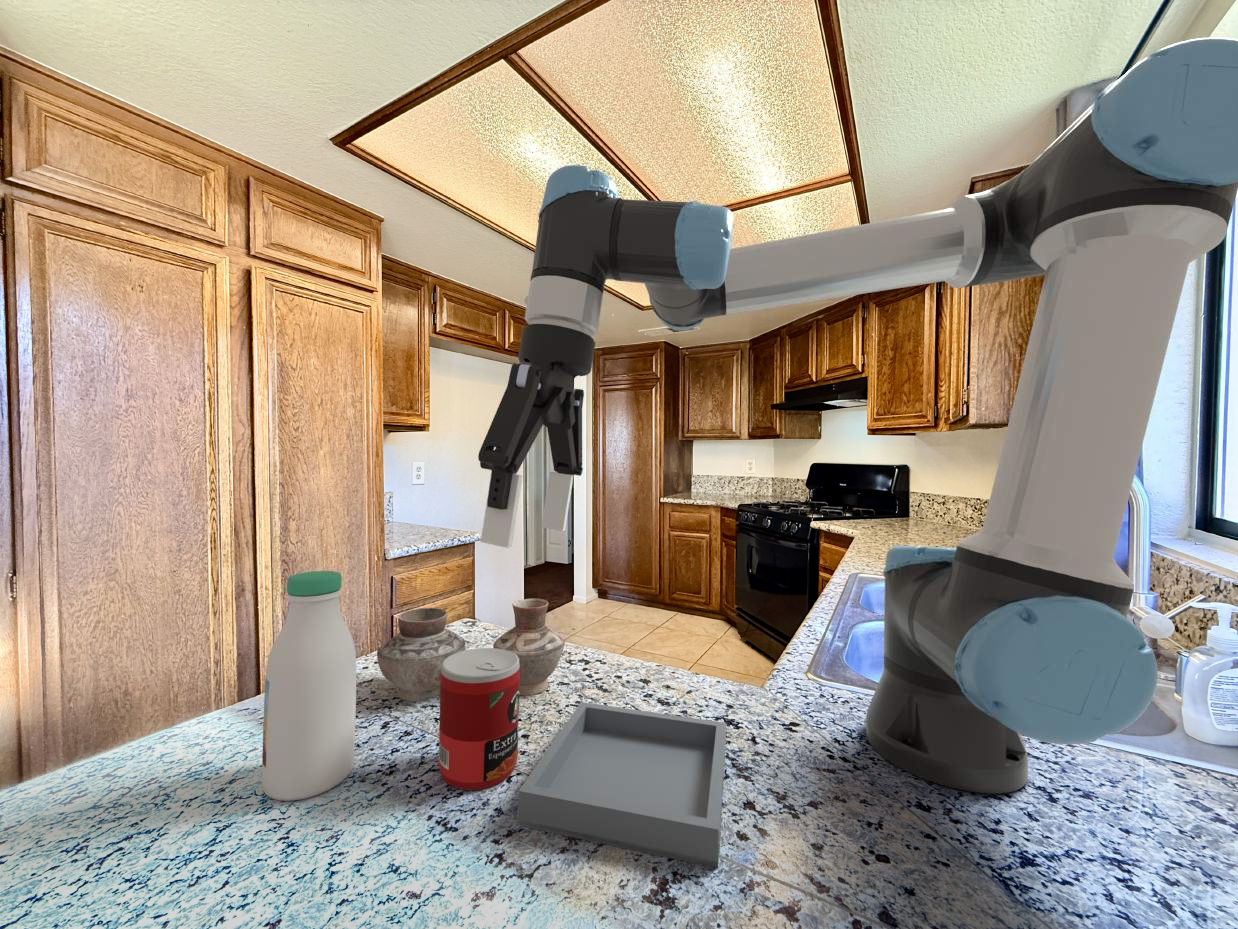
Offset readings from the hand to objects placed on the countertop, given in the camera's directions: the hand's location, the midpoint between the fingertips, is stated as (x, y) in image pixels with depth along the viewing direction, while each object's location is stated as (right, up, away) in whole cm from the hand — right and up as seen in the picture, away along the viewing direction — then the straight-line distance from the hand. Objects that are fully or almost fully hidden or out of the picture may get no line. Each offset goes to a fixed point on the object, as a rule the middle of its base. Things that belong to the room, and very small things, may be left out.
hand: (528, 536), depth 51 cm
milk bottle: (-21, -24, -2) cm, 32 cm away
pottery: (-11, -24, +18) cm, 32 cm away
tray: (+11, -24, -2) cm, 27 cm away
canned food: (-5, -24, 0) cm, 25 cm away
